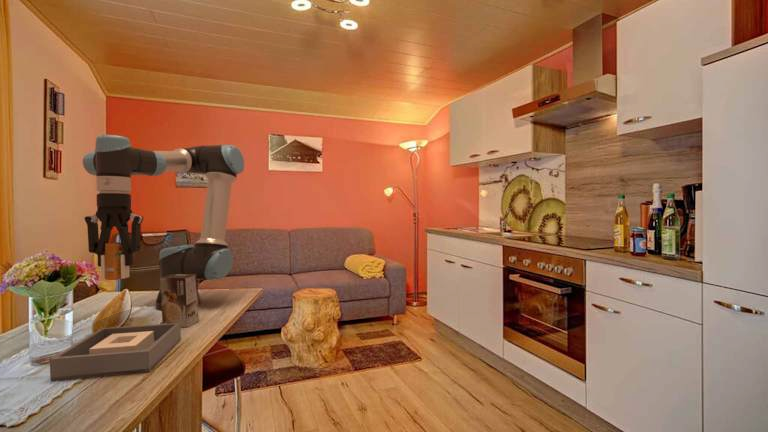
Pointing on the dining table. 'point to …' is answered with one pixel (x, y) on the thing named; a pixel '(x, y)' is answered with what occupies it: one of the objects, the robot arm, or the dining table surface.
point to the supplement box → (113, 260)
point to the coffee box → (179, 299)
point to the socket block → (124, 342)
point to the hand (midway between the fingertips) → (115, 277)
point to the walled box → (114, 354)
